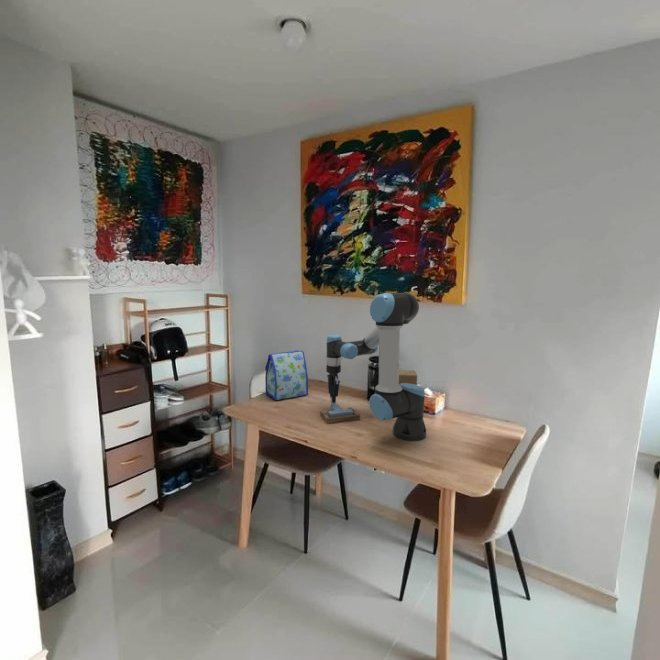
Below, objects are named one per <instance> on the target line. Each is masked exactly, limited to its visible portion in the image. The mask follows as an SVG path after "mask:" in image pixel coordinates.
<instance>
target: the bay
mask: <svg viewBox="0 0 660 660" xmlns="http://www.w3.org/2000/svg"><path fill="white" fill-rule="evenodd" d="M347 409H351V410H352V411H353V415H348V416H339V417H331V418H329V417H328V413H326V412H325V411H324V410H319V415H320V416H319V417H321V419H322V420H323V421H324V422H325V423H326V424H327V425H329V424H339V423H345V422H346V423H347V422H354V421H355V422H356V421H360V420H361V419H360V418H361V417H360V416H361V415H360V414H359V413H358V412H357V411H356V410H355V409H354V408H353V407H347Z"/></svg>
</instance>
